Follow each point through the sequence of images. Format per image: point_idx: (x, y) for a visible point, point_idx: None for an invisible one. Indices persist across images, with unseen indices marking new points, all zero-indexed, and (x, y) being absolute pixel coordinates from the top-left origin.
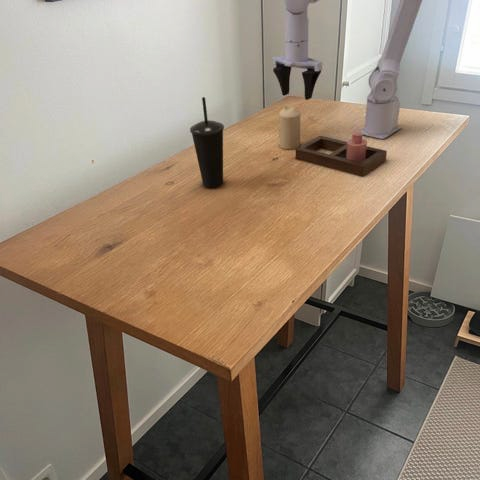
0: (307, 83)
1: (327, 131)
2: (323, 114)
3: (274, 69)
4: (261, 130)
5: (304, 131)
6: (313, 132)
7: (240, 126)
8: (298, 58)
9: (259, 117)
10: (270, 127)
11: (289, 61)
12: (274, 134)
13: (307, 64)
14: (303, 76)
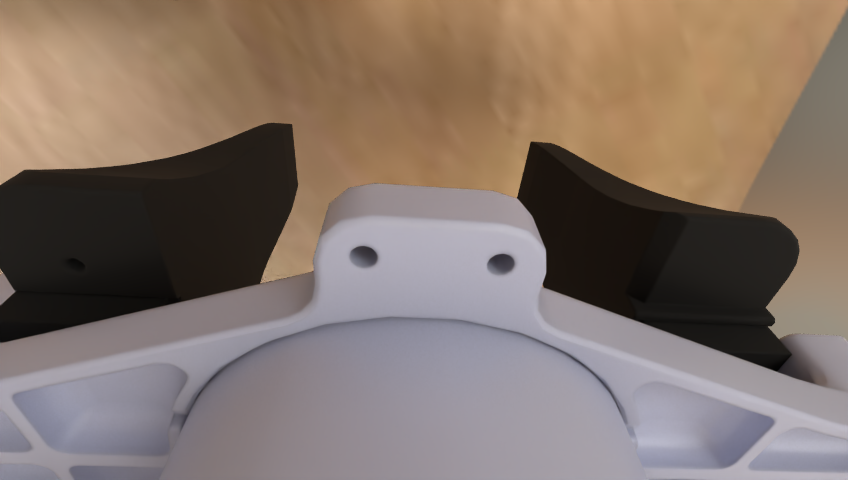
0: (170, 162)
1: (307, 183)
2: None
3: (770, 223)
4: (645, 43)
5: (407, 136)
6: (358, 144)
7: (801, 42)
8: (196, 442)
9: (716, 199)
10: (608, 107)
11: (443, 327)
12: (541, 21)
13: (19, 351)
14: (163, 178)
